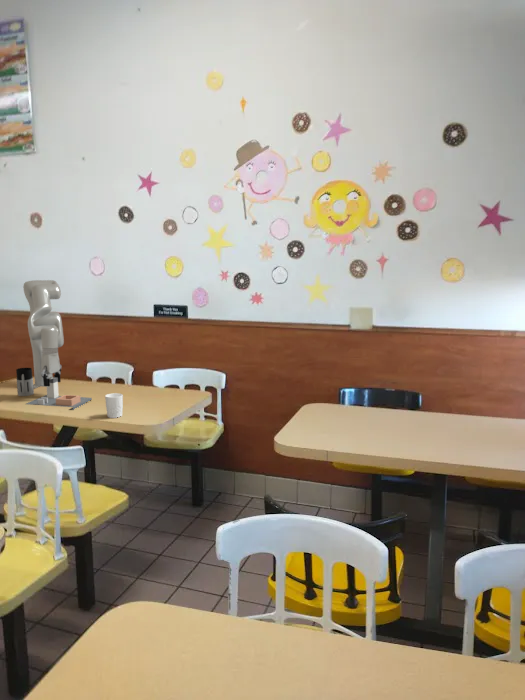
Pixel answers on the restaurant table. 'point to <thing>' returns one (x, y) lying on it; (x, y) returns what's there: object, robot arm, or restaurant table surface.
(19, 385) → the glass holder
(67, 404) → the board
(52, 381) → the salt shaker
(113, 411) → the white cup
